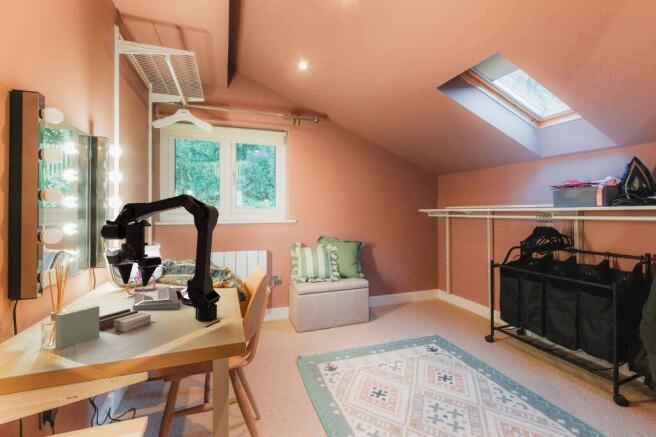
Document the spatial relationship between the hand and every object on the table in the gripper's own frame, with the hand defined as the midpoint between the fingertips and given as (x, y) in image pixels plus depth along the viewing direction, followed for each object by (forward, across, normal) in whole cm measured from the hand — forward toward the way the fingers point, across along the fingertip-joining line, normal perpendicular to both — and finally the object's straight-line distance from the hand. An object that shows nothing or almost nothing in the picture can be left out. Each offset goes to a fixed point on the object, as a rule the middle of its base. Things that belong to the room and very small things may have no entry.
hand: (135, 285), depth 102 cm
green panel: (+12, +5, -20) cm, 24 cm away
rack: (+12, +4, -7) cm, 14 cm away
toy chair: (+12, -39, +33) cm, 52 cm away
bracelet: (+12, -31, +22) cm, 40 cm away
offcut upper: (+9, +9, -7) cm, 14 cm away
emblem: (+13, -6, +19) cm, 23 cm away
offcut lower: (+11, +9, -7) cm, 15 cm away
